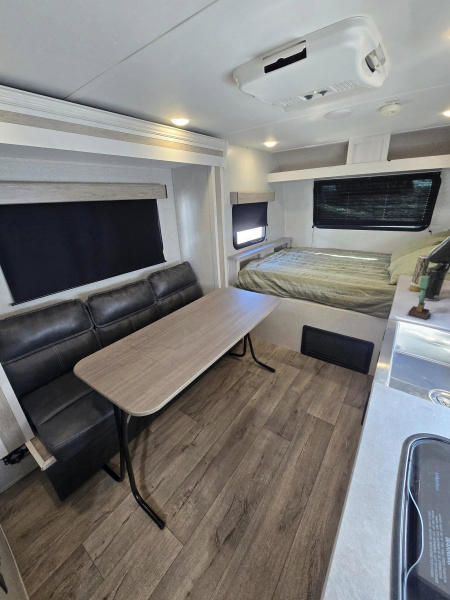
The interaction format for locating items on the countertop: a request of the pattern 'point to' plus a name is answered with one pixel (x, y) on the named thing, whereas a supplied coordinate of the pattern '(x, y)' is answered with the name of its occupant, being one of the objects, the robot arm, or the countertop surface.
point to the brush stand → (419, 311)
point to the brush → (423, 287)
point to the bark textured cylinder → (419, 271)
